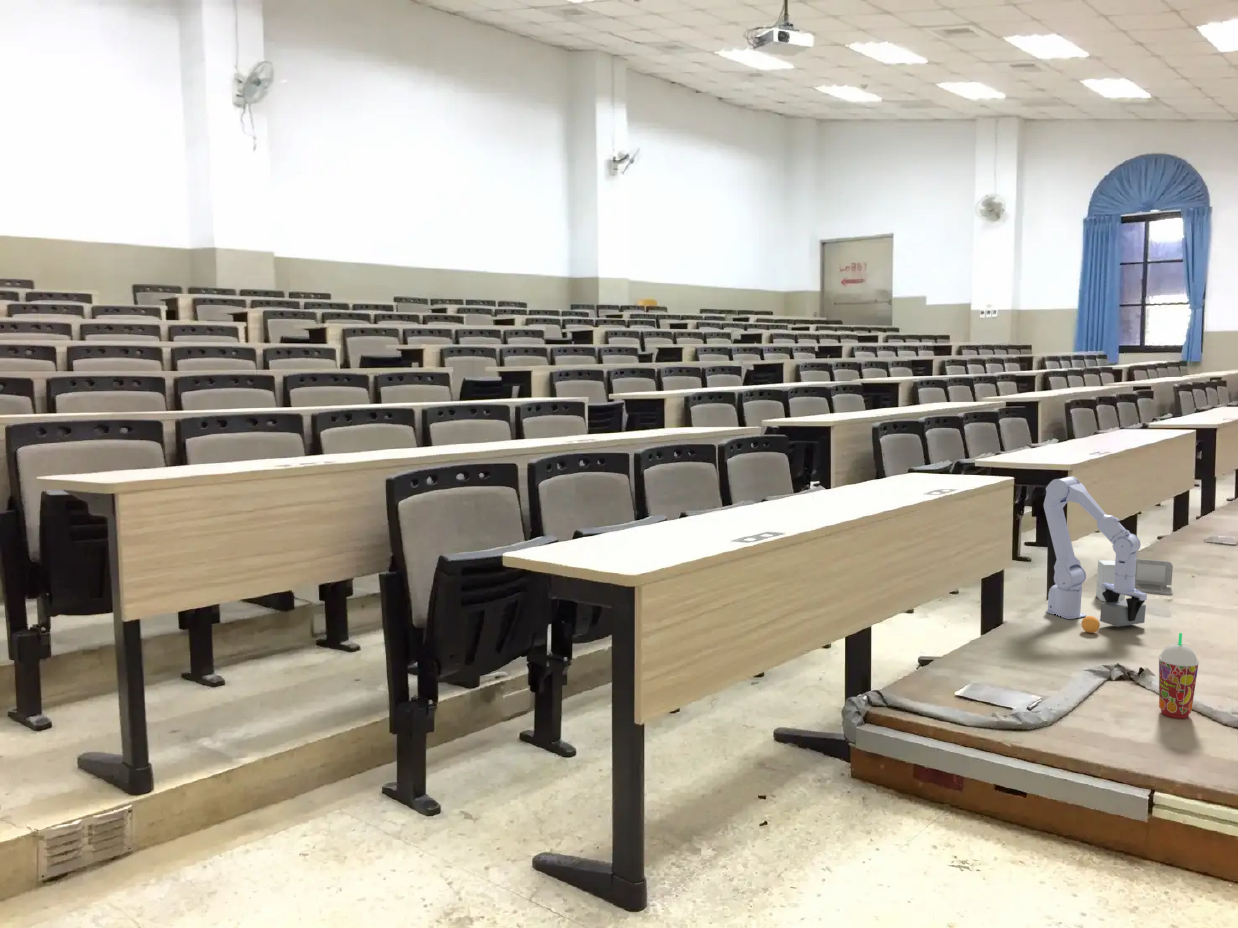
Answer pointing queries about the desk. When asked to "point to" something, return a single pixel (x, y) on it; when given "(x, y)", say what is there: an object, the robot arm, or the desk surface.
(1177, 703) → the smoothie
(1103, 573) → the supplement box
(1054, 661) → the desk surface
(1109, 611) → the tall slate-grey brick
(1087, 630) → the ball
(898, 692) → the desk surface
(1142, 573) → the handheld gaming console
